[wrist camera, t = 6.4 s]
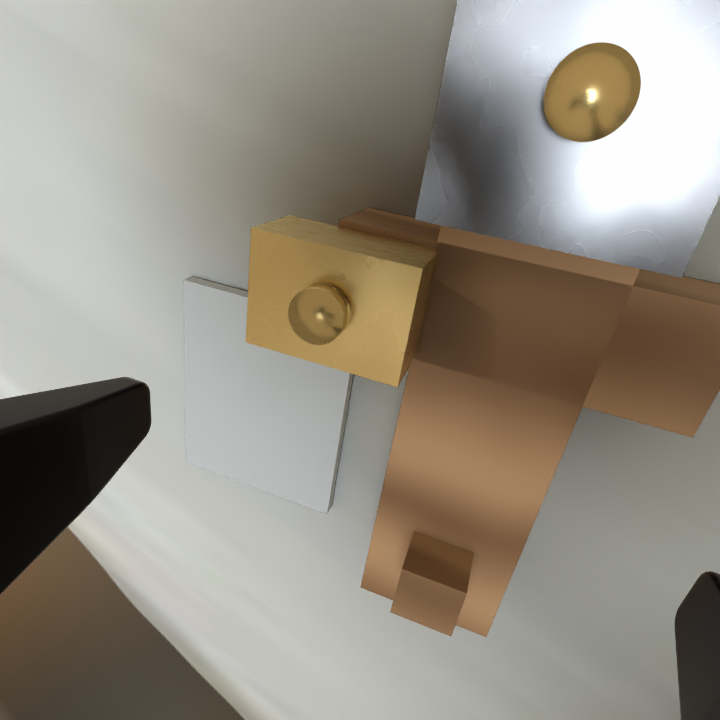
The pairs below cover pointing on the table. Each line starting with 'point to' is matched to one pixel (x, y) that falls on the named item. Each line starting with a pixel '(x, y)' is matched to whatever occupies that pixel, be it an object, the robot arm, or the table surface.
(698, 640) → the robot arm
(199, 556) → the table surface
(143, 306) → the table surface
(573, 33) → the cap plate
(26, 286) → the table surface
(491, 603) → the plane body
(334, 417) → the mat
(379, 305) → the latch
